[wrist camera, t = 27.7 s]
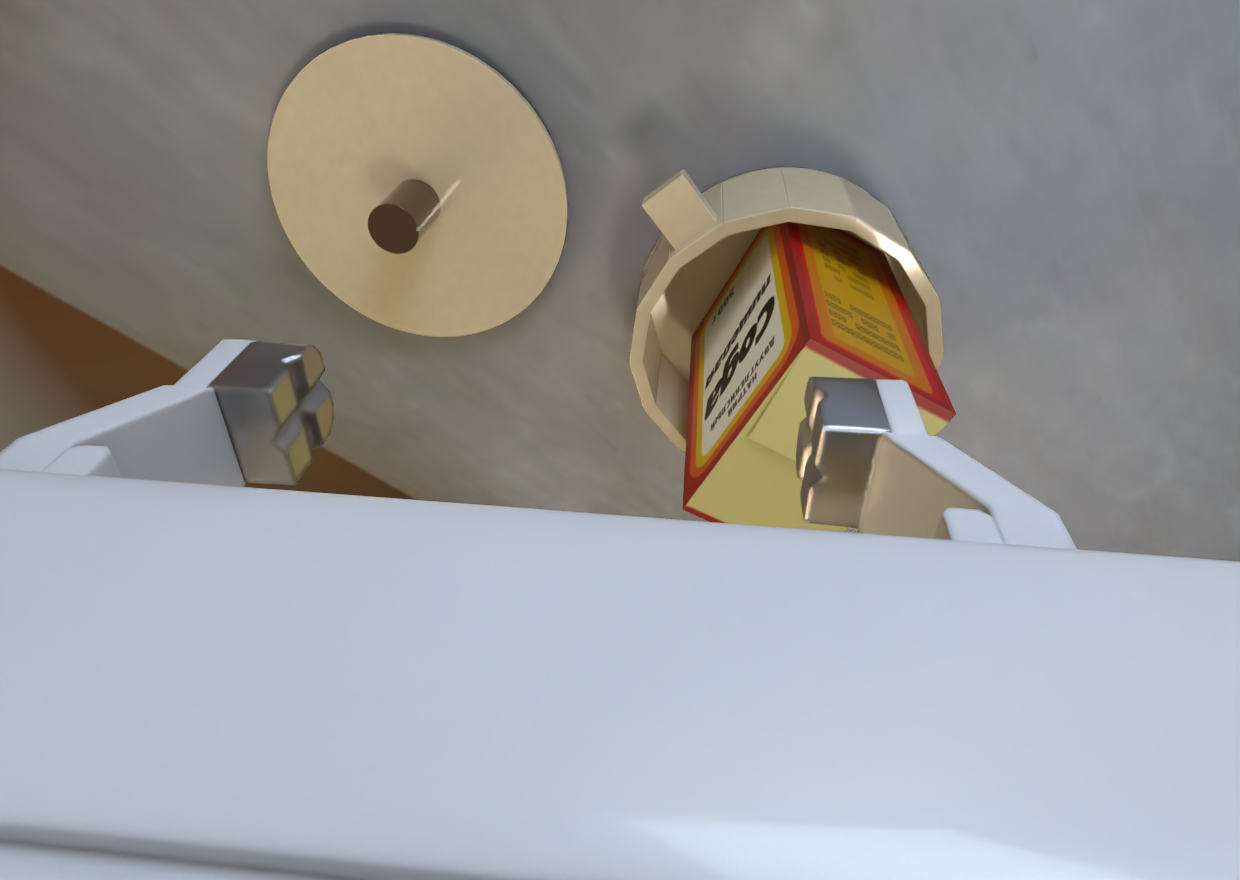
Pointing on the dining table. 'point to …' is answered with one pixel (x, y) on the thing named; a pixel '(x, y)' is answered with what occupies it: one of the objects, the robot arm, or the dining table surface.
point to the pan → (714, 245)
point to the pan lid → (417, 184)
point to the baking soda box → (791, 366)
